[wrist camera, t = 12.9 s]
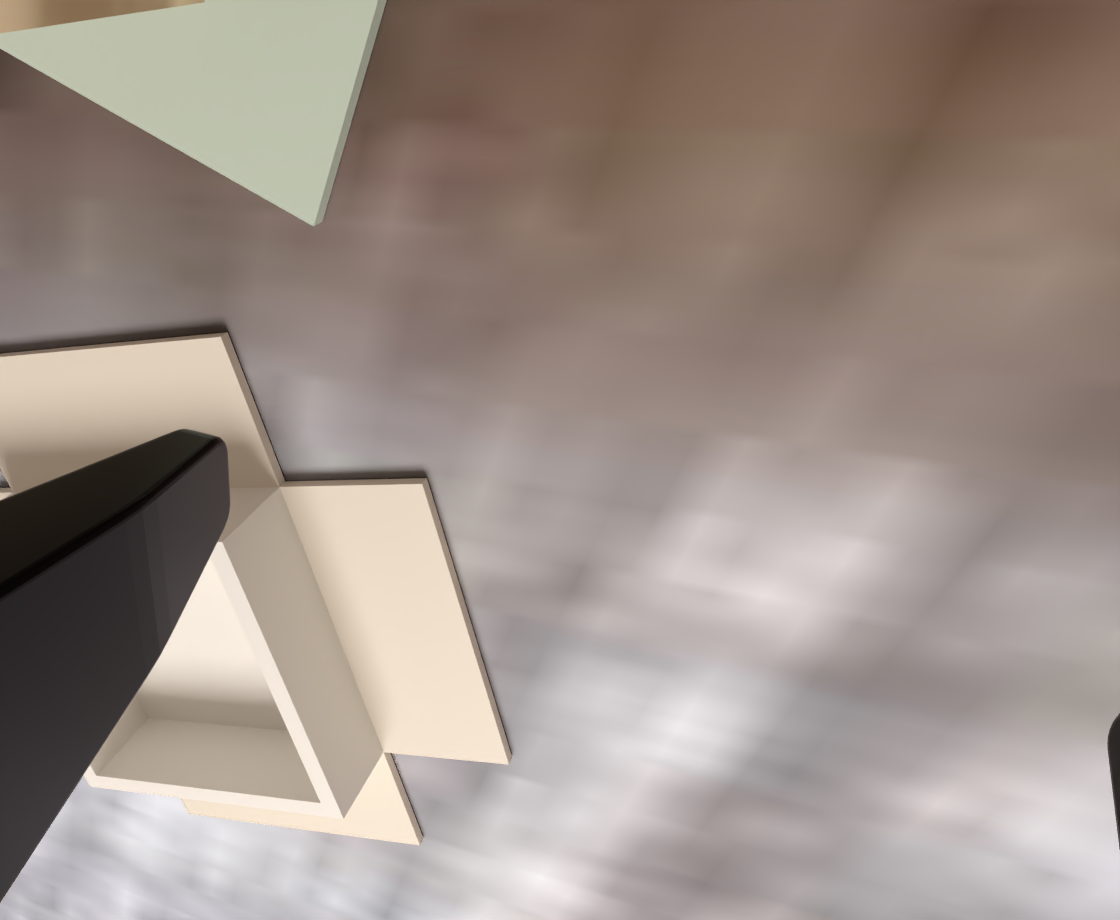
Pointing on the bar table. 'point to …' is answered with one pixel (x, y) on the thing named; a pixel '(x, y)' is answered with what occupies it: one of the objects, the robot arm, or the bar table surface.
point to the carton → (269, 606)
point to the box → (72, 11)
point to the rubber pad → (227, 84)
